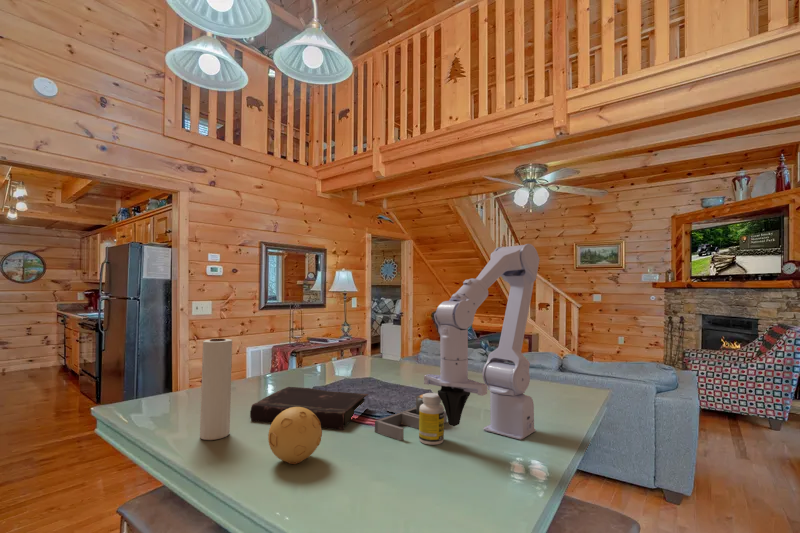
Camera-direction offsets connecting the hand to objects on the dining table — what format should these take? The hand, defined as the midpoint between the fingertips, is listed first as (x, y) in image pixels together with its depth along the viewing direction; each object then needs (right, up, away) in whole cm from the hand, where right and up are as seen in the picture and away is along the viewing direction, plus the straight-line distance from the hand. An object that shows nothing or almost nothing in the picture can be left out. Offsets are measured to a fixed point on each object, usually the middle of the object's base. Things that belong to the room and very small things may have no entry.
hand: (454, 424), depth 83 cm
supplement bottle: (-4, -5, +4) cm, 8 cm away
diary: (-34, -7, +22) cm, 41 cm away
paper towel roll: (-53, -5, +7) cm, 53 cm away
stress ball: (-31, -5, -7) cm, 33 cm away
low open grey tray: (-12, -6, +16) cm, 20 cm away
